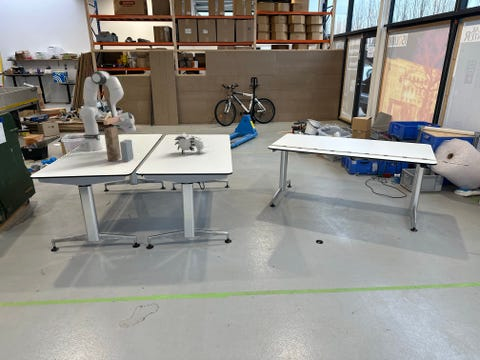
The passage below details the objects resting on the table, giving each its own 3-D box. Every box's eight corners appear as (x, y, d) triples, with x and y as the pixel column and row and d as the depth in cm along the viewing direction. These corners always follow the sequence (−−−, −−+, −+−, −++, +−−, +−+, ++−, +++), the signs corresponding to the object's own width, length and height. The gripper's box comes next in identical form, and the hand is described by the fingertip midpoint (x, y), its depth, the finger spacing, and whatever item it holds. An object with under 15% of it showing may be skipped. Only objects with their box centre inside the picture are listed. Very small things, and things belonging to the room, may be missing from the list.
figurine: (208, 157, 289) (173, 154, 285) (208, 153, 304) (174, 149, 301) (210, 139, 284) (174, 135, 280) (210, 135, 299) (176, 131, 295)
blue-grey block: (122, 161, 267) (119, 142, 261) (127, 158, 276) (125, 139, 271) (128, 162, 266) (125, 142, 261) (133, 158, 276) (131, 139, 270)
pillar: (108, 161, 268) (103, 129, 260) (114, 157, 278) (110, 126, 269) (115, 161, 268) (111, 129, 259) (121, 158, 277) (117, 127, 268)
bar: (103, 124, 257) (103, 120, 256) (117, 119, 277) (117, 116, 276) (107, 124, 256) (107, 120, 255) (120, 120, 277) (120, 116, 276)
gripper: (113, 120, 289) (105, 114, 275) (136, 120, 286) (129, 114, 273) (112, 127, 288) (104, 121, 274) (135, 127, 285) (128, 122, 272)
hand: (117, 118), depth 274 cm, fingers closed on bar, 3 cm apart
